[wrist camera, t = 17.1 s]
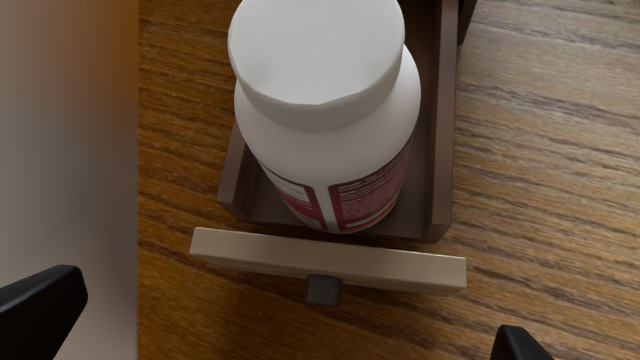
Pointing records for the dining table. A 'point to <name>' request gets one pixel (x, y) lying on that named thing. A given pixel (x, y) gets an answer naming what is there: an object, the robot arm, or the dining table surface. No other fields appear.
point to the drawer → (399, 224)
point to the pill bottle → (327, 104)
